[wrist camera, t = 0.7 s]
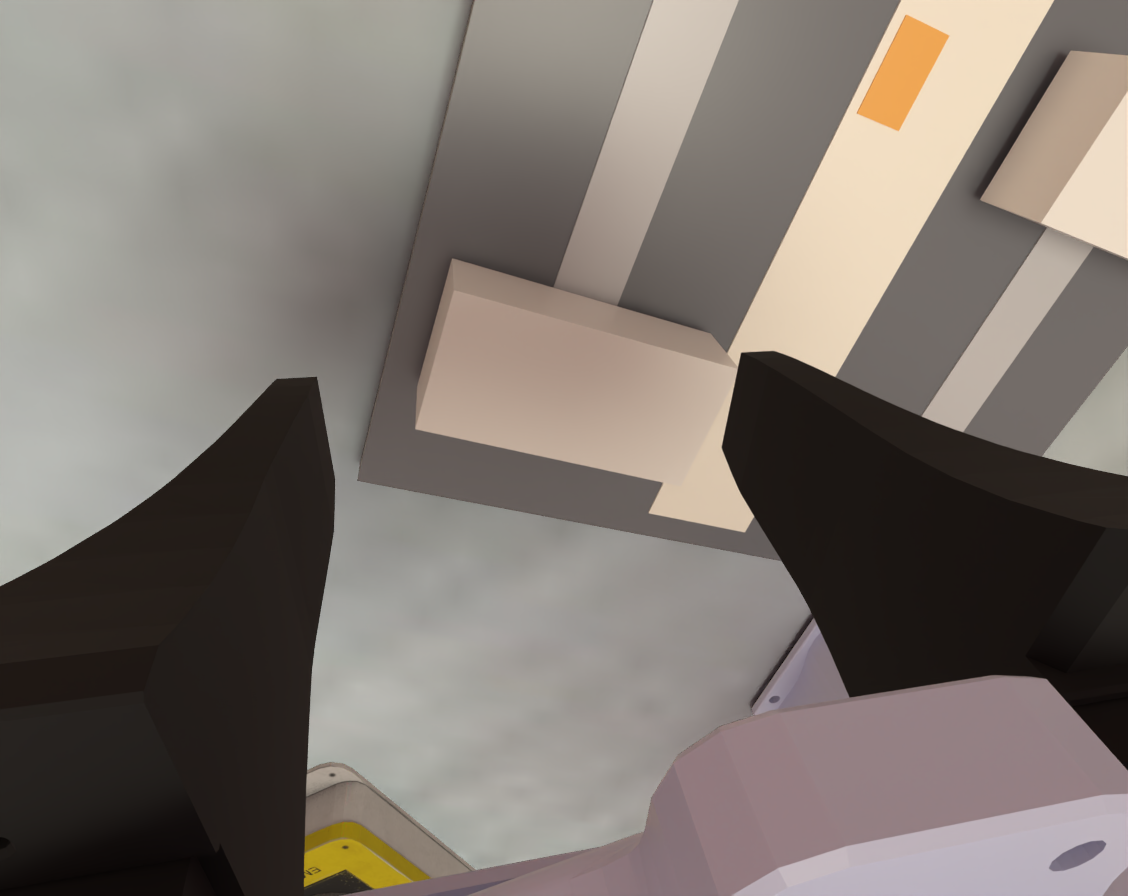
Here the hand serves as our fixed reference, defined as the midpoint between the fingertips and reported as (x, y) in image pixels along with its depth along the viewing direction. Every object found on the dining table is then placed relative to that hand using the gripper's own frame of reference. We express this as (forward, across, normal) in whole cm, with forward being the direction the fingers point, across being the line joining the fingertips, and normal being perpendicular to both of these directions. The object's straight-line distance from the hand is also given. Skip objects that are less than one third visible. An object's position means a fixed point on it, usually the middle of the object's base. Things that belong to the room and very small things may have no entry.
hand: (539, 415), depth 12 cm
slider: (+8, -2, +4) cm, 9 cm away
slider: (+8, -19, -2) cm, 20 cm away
